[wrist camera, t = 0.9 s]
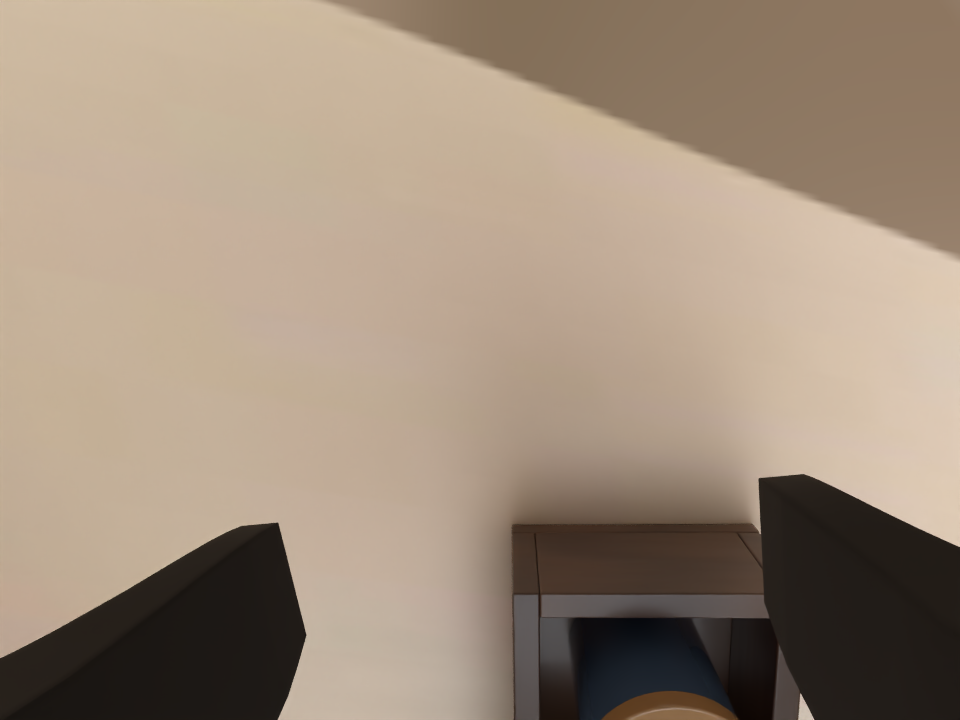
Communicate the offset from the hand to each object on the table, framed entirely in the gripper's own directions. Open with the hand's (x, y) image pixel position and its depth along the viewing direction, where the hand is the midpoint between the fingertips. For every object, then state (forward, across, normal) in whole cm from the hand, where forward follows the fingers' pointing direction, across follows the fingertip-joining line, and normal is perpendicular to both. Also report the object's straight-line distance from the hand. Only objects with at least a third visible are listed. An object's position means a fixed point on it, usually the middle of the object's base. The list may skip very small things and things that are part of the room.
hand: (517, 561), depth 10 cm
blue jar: (+10, -2, +9) cm, 13 cm away
